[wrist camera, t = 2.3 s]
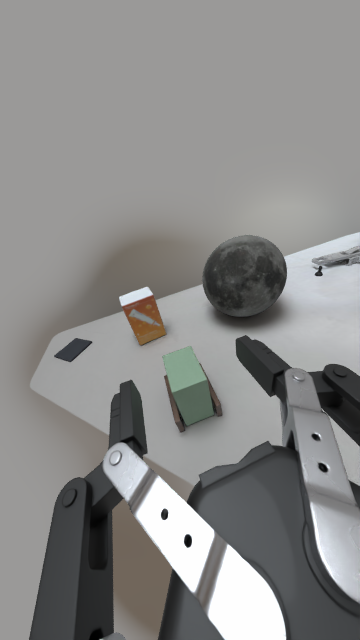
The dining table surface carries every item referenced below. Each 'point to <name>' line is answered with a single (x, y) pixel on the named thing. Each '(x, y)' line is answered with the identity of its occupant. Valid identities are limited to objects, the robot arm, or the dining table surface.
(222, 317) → the dining table surface
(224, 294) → the decorative sphere
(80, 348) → the rubber mat
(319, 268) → the chess pawn
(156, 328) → the small box
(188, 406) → the green rectangular block
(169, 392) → the u-shaped bracket
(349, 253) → the zipper pull
